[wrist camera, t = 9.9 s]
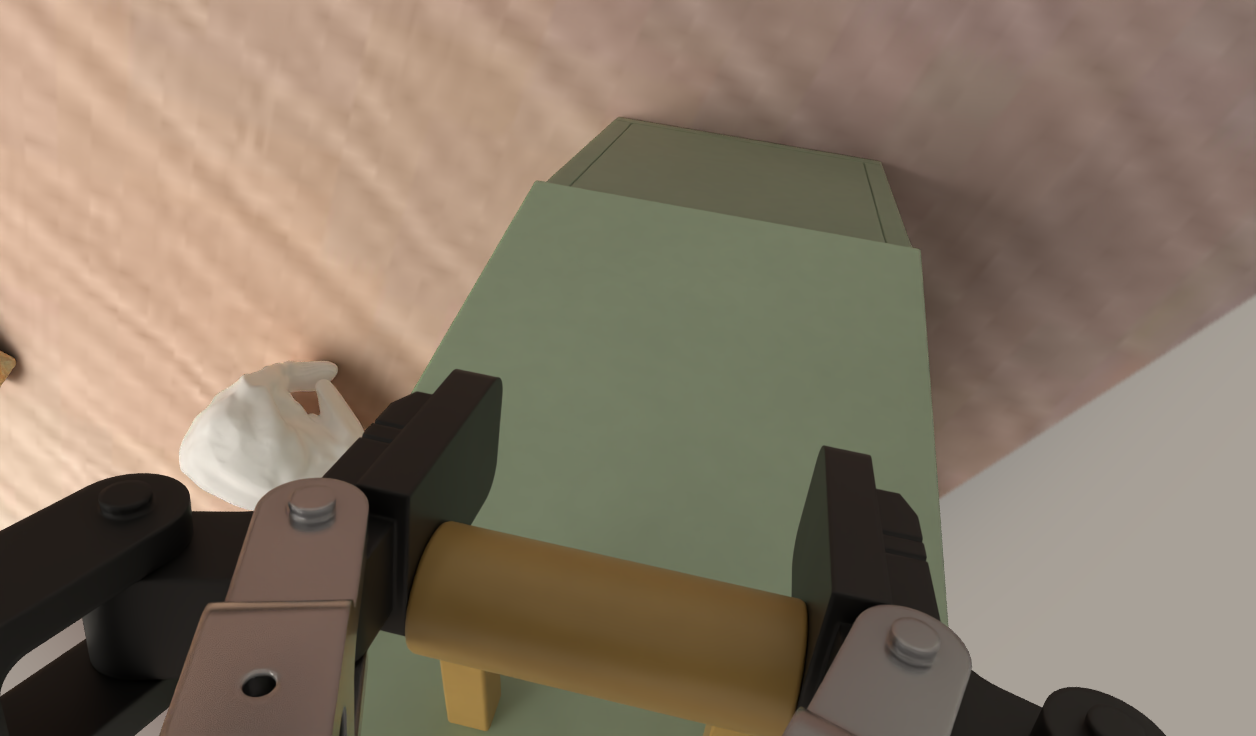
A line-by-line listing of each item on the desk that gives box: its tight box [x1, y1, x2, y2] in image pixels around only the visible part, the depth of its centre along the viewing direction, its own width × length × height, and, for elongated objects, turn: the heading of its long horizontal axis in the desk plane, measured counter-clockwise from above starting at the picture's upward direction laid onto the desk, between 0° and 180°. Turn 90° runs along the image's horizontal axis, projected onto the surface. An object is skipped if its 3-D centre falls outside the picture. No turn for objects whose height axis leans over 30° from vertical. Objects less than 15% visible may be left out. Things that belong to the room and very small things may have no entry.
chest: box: [546, 117, 912, 248], centre depth 36 cm, size 18×12×13 cm, turn 172°
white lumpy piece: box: [179, 361, 364, 511], centre depth 45 cm, size 6×8×12 cm
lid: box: [361, 181, 948, 736], centre depth 18 cm, size 18×12×5 cm
